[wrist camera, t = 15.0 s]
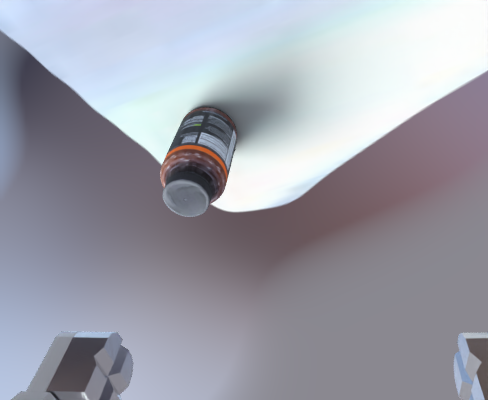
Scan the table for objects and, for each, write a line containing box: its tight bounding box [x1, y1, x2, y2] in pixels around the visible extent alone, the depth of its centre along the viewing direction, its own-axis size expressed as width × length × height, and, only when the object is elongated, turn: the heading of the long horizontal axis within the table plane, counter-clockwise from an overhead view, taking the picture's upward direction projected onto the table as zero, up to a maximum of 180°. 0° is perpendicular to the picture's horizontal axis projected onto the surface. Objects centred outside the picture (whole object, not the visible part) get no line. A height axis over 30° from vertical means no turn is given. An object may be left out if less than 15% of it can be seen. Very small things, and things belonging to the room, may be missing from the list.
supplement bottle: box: [160, 107, 237, 217], centre depth 40 cm, size 6×6×11 cm
